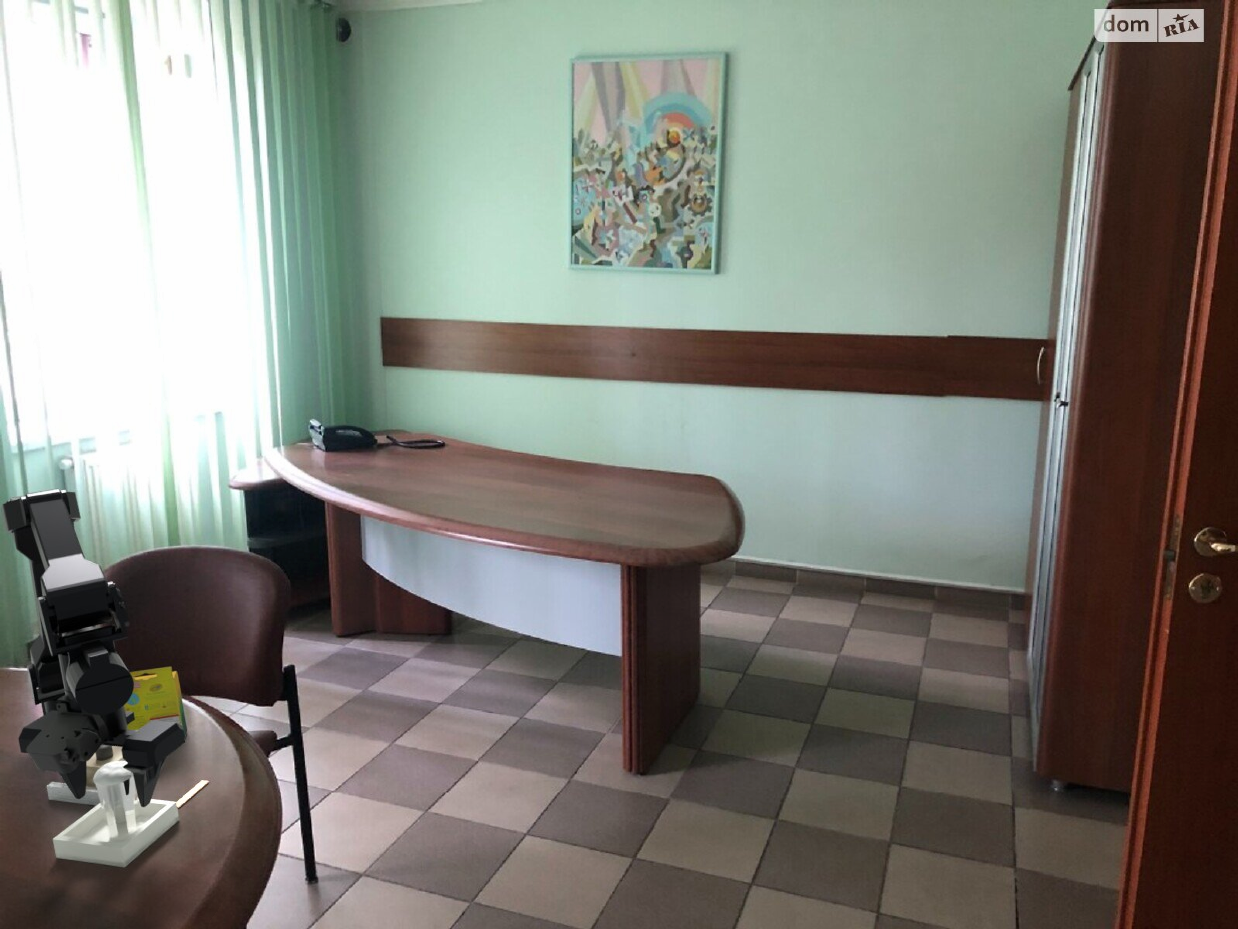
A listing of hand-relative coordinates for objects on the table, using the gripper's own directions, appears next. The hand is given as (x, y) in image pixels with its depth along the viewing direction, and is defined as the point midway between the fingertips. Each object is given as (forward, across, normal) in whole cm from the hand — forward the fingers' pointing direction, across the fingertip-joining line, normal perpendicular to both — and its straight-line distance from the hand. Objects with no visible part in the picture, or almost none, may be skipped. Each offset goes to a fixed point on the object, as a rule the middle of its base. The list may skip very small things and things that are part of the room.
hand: (113, 801), depth 117 cm
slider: (+5, -10, +10) cm, 15 cm away
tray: (+5, 0, 0) cm, 5 cm away
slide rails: (+5, -6, +10) cm, 13 cm away
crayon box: (+5, -12, +22) cm, 25 cm away
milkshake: (+5, +1, 0) cm, 5 cm away
